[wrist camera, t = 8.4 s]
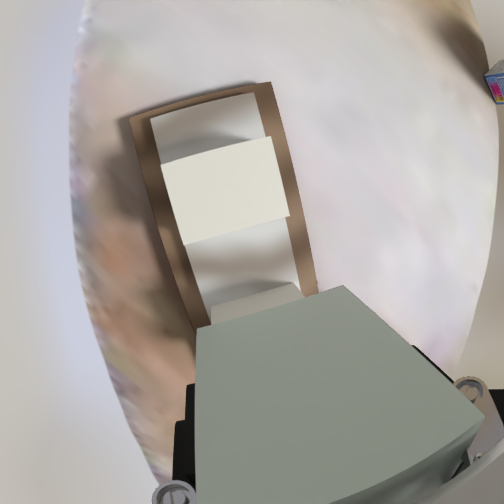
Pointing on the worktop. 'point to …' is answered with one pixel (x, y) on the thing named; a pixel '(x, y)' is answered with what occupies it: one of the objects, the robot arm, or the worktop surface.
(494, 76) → the ink cartridge box
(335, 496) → the block
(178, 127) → the rail board
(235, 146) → the blocks
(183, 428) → the robot arm
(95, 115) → the worktop surface
